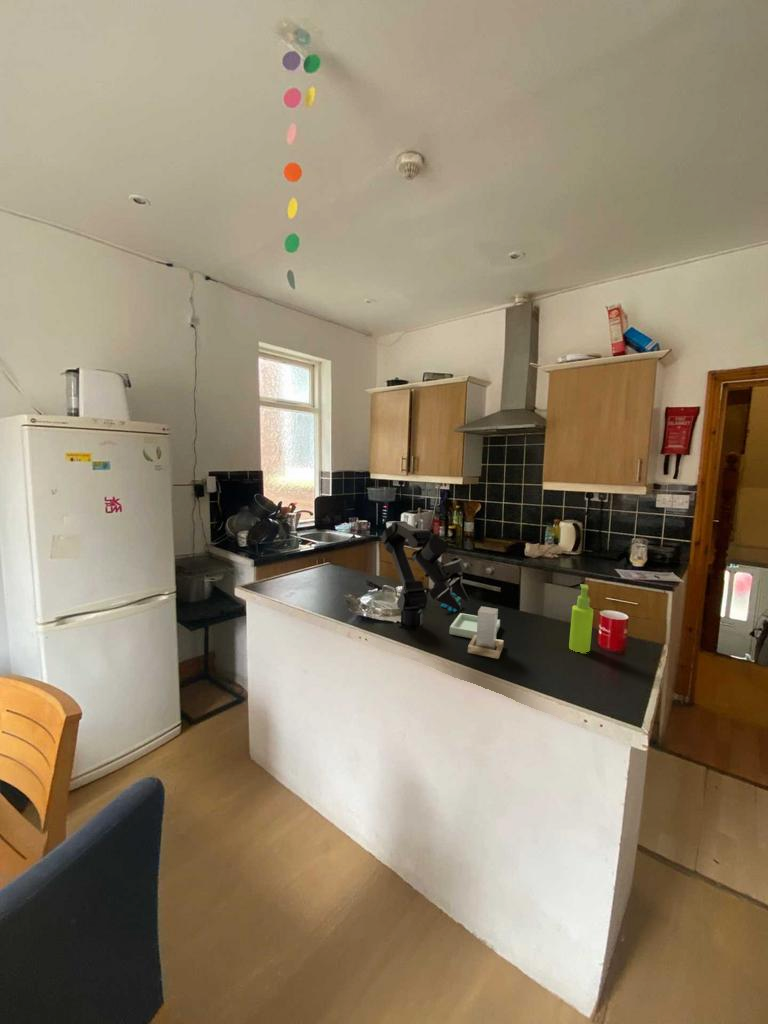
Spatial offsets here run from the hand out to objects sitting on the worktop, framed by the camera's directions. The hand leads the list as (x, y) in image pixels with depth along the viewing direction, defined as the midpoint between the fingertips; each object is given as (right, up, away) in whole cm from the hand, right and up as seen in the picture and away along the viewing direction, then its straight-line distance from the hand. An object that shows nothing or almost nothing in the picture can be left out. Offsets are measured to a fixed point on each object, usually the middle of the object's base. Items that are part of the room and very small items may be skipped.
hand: (464, 605), depth 130 cm
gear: (+1, -9, +33) cm, 34 cm away
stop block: (+6, -13, -1) cm, 15 cm away
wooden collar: (+6, -13, -1) cm, 15 cm away
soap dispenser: (+36, -14, +1) cm, 38 cm away
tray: (+6, -11, +13) cm, 18 cm away
